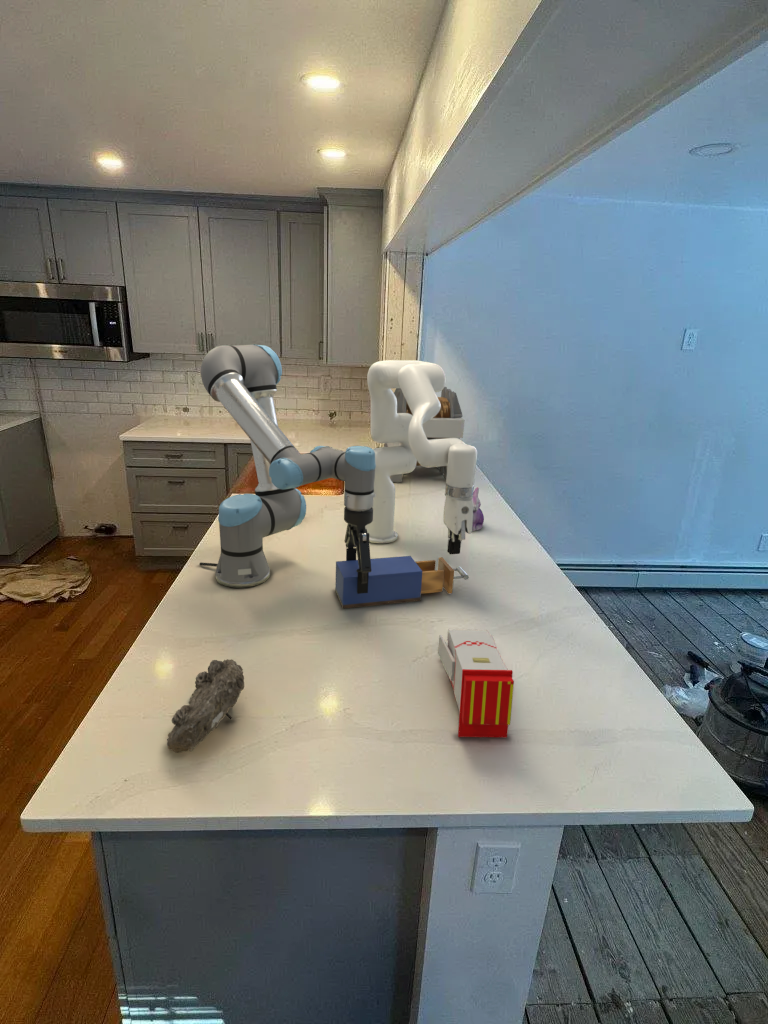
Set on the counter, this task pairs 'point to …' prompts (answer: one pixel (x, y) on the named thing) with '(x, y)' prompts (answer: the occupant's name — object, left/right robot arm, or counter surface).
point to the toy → (478, 682)
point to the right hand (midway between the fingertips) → (453, 552)
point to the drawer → (439, 576)
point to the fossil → (206, 705)
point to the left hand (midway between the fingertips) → (356, 581)
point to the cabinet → (379, 582)
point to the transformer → (435, 422)
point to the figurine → (477, 512)
